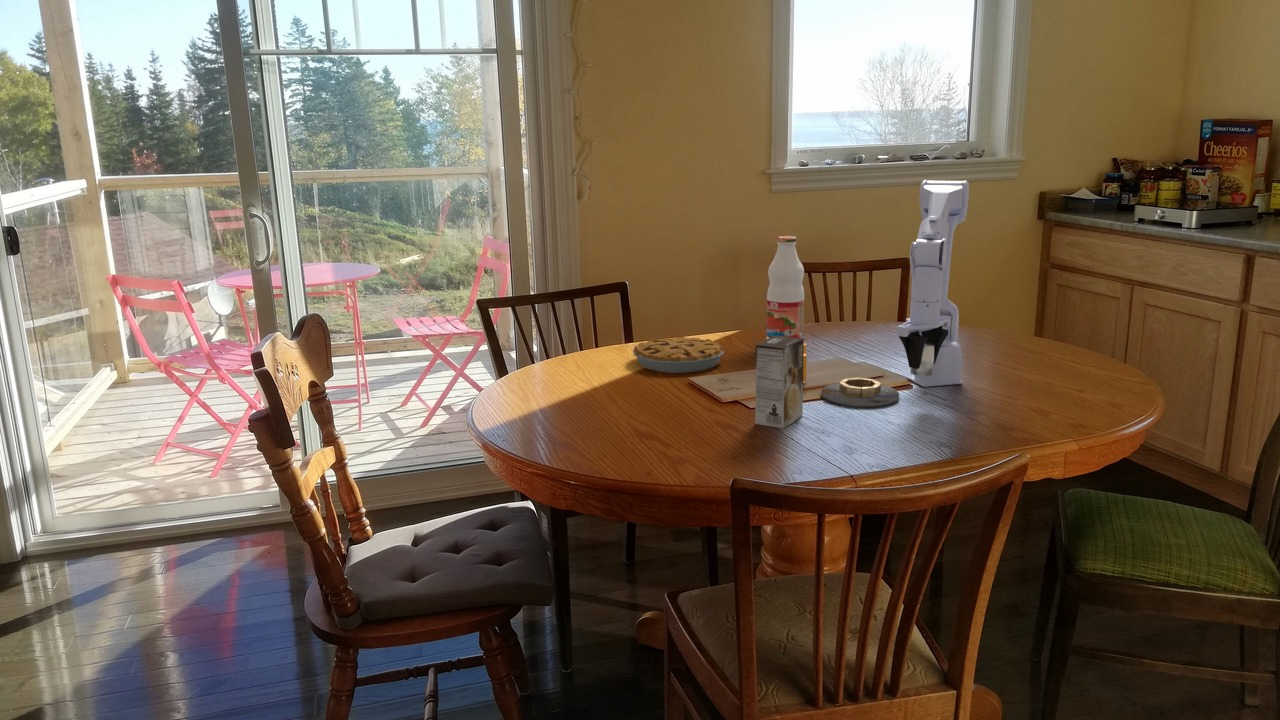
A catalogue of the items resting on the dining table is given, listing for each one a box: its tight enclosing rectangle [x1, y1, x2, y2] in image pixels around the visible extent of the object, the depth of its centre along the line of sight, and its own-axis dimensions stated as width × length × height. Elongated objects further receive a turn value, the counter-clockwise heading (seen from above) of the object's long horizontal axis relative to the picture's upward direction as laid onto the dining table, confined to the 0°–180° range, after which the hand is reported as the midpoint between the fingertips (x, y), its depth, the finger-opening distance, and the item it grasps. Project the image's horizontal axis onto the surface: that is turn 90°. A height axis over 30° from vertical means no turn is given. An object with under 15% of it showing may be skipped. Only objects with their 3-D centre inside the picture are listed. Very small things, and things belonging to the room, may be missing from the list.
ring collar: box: [820, 377, 900, 409], centre depth 202 cm, size 16×16×3 cm
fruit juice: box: [766, 235, 805, 340], centre depth 245 cm, size 9×9×28 cm
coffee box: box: [754, 336, 805, 429], centre depth 186 cm, size 9×6×16 cm
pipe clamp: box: [803, 342, 807, 382], centre depth 219 cm, size 12×4×6 cm, turn 171°
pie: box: [633, 336, 725, 374], centre depth 233 cm, size 22×22×5 cm
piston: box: [910, 342, 935, 376], centre depth 194 cm, size 4×4×6 cm
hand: (922, 365), depth 194 cm, fingers closed on piston, 4 cm apart
